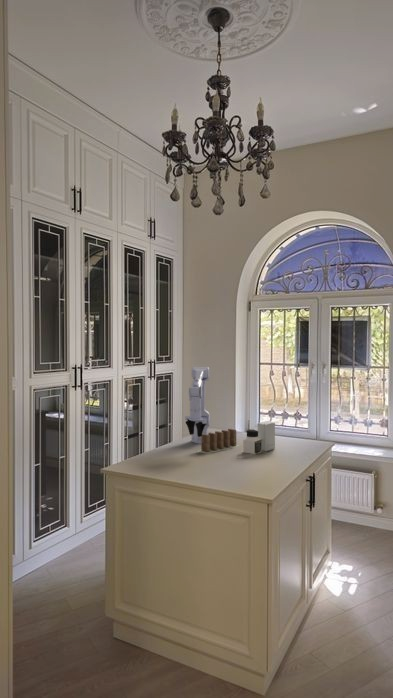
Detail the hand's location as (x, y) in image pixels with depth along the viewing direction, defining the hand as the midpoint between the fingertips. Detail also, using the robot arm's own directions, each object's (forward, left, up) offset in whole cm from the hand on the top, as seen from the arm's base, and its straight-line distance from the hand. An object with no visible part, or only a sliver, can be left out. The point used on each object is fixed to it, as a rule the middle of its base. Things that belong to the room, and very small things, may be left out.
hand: (195, 435), depth 239 cm
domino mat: (0, +17, -10) cm, 20 cm away
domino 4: (0, +27, -10) cm, 29 cm away
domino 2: (0, +17, -10) cm, 20 cm away
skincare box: (+18, +35, -10) cm, 41 cm away
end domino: (0, +7, -10) cm, 12 cm away
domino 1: (0, +12, -10) cm, 15 cm away
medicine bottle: (+17, +25, -10) cm, 32 cm away
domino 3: (0, +22, -10) cm, 24 cm away
